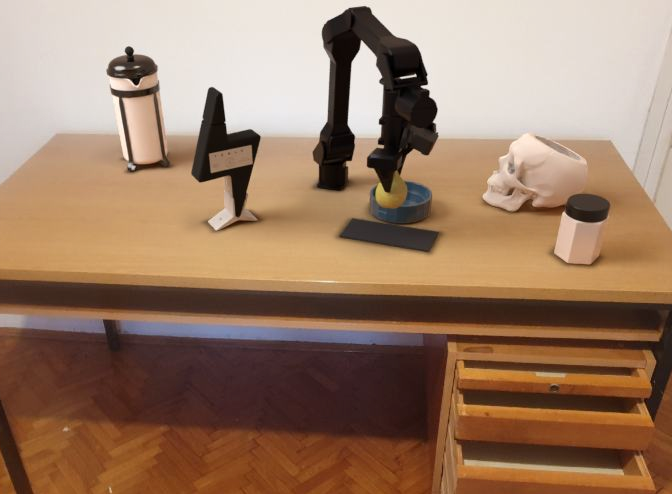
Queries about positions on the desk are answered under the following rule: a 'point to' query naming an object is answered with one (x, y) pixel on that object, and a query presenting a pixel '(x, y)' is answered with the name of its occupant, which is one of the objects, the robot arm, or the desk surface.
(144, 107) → the coffee press
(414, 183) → the bowl
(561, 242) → the jar
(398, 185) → the fruit
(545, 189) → the skull planter
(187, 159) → the desk surface
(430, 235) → the place mat
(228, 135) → the award
